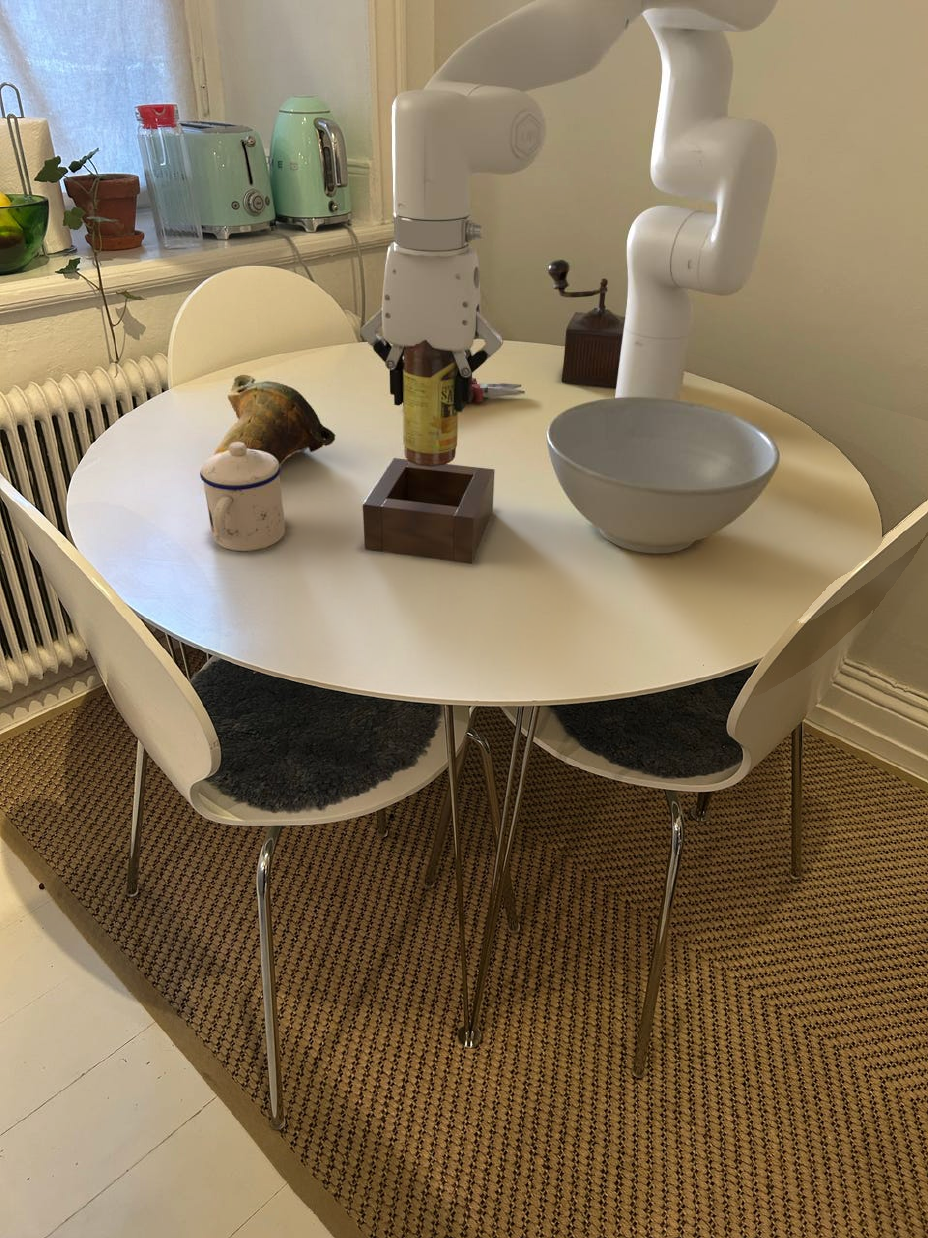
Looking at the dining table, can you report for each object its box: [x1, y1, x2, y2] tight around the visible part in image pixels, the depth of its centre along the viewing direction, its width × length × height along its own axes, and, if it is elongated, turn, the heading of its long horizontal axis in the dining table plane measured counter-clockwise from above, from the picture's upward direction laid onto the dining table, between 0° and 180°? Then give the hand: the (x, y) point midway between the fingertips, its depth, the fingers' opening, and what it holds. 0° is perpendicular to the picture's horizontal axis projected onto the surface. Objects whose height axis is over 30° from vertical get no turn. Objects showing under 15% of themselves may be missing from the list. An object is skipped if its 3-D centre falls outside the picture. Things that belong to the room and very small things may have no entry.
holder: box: [362, 457, 496, 564], centre depth 106 cm, size 13×13×6 cm
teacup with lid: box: [199, 442, 286, 552], centre depth 101 cm, size 12×9×12 cm
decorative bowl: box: [546, 397, 781, 554], centre depth 106 cm, size 27×27×12 cm
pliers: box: [470, 377, 526, 404], centre depth 143 cm, size 12×20×3 cm, turn 100°
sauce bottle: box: [402, 340, 459, 467], centre depth 96 cm, size 7×6×20 cm
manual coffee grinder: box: [547, 259, 626, 389], centre depth 149 cm, size 16×11×18 cm
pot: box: [212, 374, 336, 466], centre depth 120 cm, size 17×11×18 cm
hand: (430, 402), depth 98 cm, fingers closed on sauce bottle, 6 cm apart
